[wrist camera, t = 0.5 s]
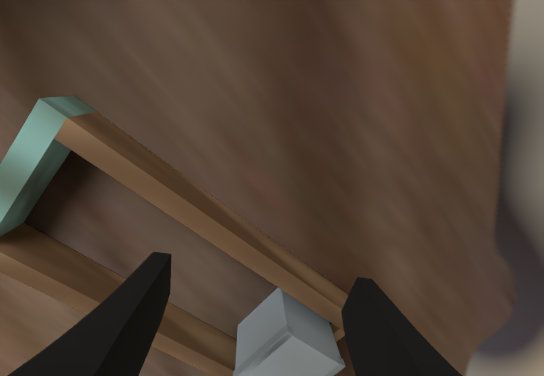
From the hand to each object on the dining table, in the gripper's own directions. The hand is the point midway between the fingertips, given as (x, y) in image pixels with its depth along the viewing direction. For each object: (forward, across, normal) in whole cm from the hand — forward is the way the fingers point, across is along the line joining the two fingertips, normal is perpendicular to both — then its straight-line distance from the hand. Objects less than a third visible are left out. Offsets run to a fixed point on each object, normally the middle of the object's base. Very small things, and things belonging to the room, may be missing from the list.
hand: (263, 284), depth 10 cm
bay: (+9, +3, +10) cm, 14 cm away
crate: (+9, -4, +14) cm, 17 cm away
